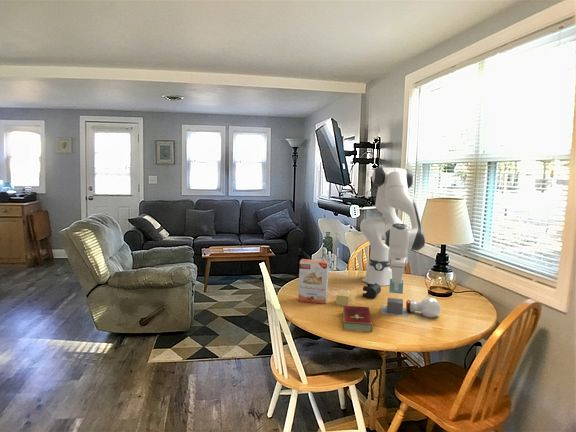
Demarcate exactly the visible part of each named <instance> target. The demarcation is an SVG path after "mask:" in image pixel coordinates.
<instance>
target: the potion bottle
mask: <svg viewBox="0 0 576 432" xmlns="http://www.w3.org/2000/svg"><path fill="white" fill-rule="evenodd" d="M405 304H406V305H405V306H406V307H405V308H406V311H407V312H408V313H409V312H411V314H412V313H413V314H414V313H417V312H419V313H421V314H422V316H423V317H426V318H431V319H434V318H437V317H438V316H439V314H440V313H441V310H442V307H441V304H440V302H439V301H438V300H437V299H436V298H434V297H431V296H428V297H424V298H422V300H421V301H416V300H415V299H414V298H412V299H411V300H410V299H407V300H406V303H405Z"/></svg>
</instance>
